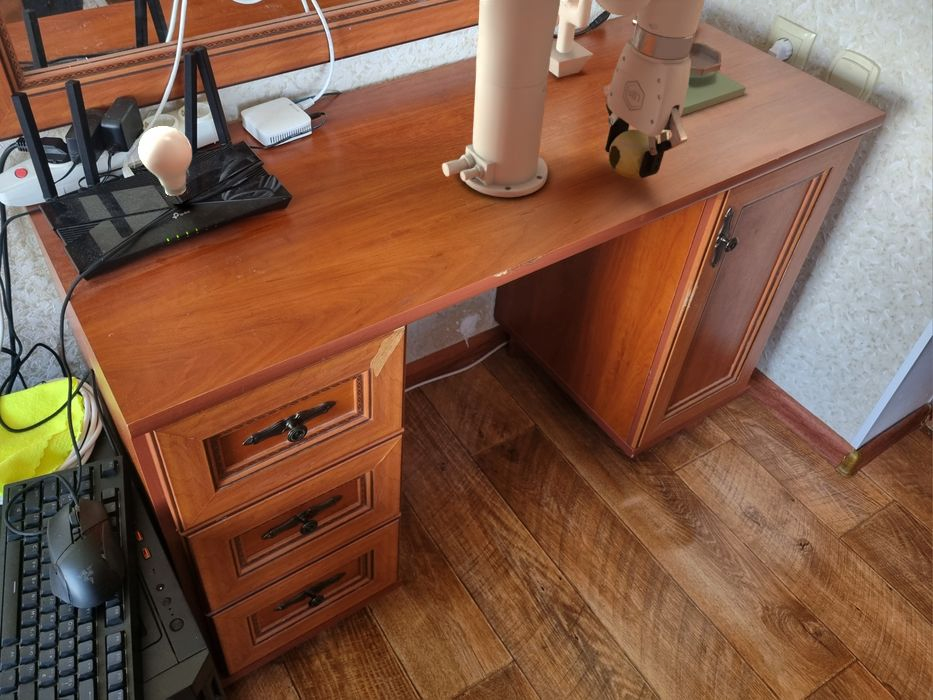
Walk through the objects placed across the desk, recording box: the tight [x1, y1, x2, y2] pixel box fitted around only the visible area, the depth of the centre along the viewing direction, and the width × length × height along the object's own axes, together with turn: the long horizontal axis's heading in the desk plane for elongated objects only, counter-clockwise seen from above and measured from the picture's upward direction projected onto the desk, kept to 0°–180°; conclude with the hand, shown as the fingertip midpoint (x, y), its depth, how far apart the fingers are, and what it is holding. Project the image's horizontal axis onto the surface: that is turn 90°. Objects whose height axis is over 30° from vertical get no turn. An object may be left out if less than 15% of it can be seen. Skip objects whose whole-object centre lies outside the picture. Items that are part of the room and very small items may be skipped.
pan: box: [689, 41, 722, 78], centre depth 134 cm, size 10×10×2 cm
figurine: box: [549, 0, 594, 78], centre depth 132 cm, size 7×9×15 cm
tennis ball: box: [608, 128, 649, 179], centre depth 111 cm, size 6×7×7 cm
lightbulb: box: [138, 125, 193, 196], centre depth 102 cm, size 6×6×11 cm
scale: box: [681, 70, 747, 117], centre depth 134 cm, size 16×14×3 cm
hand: (631, 161), depth 112 cm, fingers closed on tennis ball, 6 cm apart
